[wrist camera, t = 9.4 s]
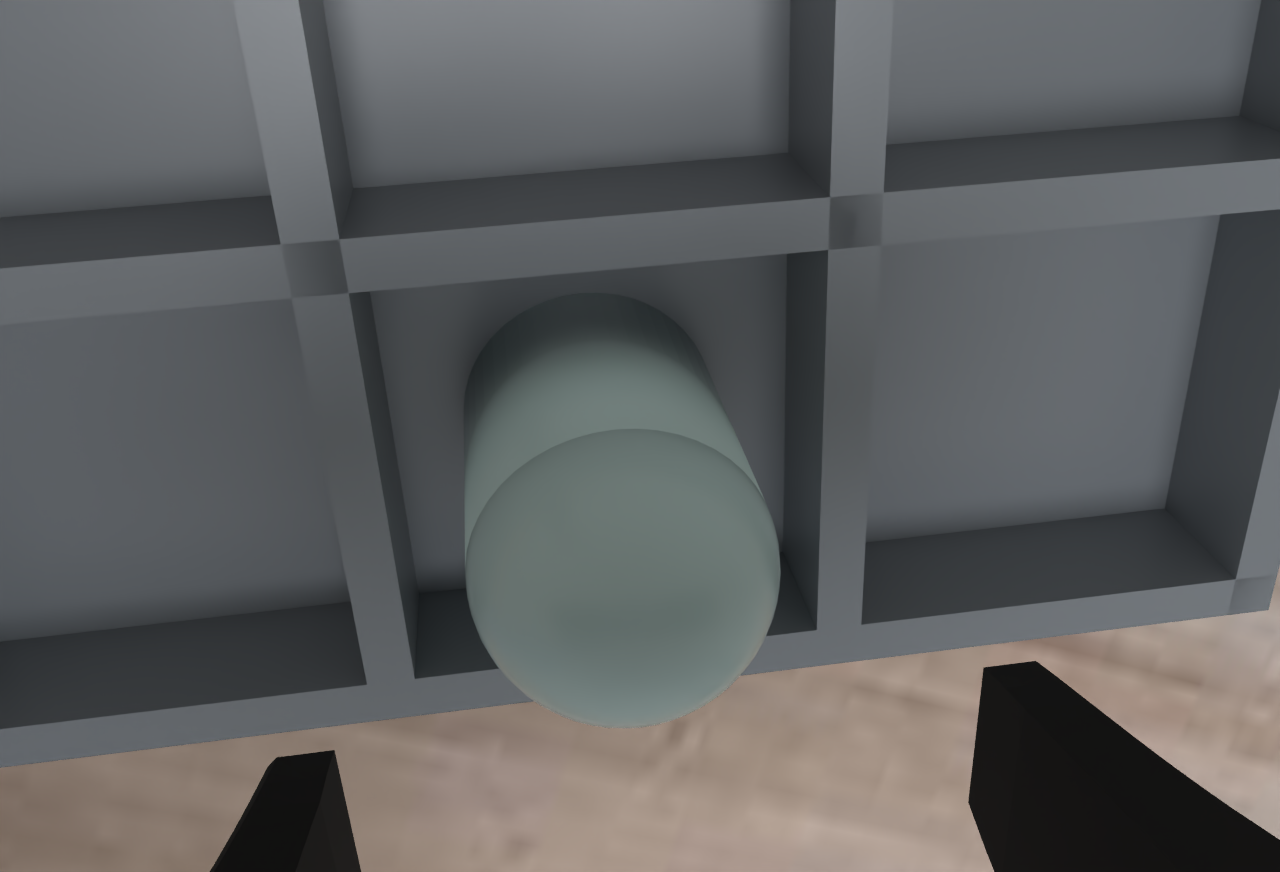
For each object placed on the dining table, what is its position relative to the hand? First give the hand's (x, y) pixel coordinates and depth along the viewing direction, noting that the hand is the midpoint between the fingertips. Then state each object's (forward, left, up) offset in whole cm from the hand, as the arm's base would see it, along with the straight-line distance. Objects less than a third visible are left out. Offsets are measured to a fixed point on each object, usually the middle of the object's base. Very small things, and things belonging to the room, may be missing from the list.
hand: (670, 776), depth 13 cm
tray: (0, +4, -10) cm, 11 cm away
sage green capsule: (0, 0, -9) cm, 9 cm away
